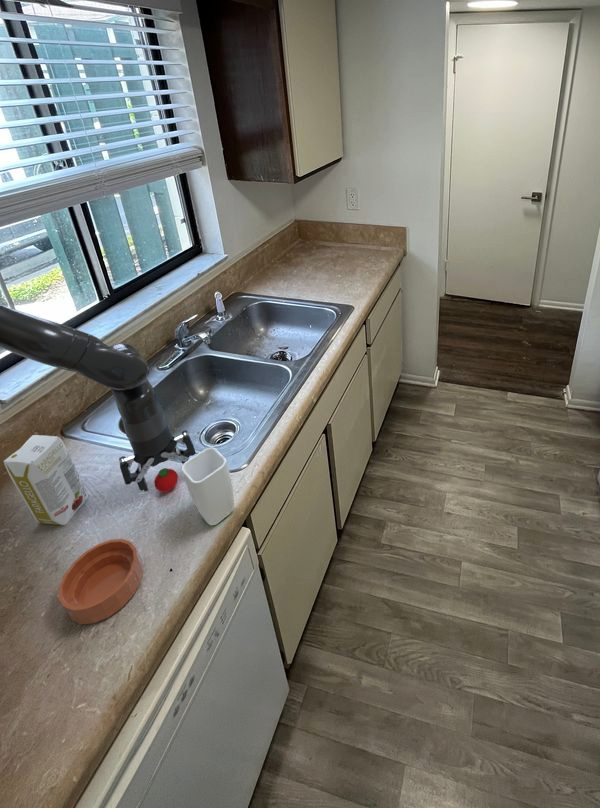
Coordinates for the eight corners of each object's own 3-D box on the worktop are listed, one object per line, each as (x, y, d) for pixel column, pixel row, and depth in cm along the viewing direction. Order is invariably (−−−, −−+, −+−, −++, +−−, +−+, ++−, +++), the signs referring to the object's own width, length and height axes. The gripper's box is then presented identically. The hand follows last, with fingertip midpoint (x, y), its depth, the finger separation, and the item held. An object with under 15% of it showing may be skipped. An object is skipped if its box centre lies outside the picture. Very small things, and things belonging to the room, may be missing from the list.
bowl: (67, 642, 74) (57, 626, 72) (68, 578, 84) (59, 562, 82) (147, 597, 81) (140, 581, 78) (140, 542, 90) (133, 526, 88)
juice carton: (94, 494, 100) (66, 433, 92) (64, 530, 92) (30, 467, 84) (64, 491, 101) (33, 430, 92) (32, 527, 93) (-5, 464, 85)
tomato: (158, 500, 98) (152, 484, 96) (155, 485, 102) (150, 469, 100) (181, 489, 101) (176, 474, 99) (178, 475, 104) (172, 459, 102)
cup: (194, 514, 95) (177, 466, 89) (224, 491, 100) (211, 444, 94) (210, 534, 91) (195, 486, 85) (242, 509, 96) (229, 462, 90)
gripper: (180, 403, 100) (196, 453, 107) (107, 431, 93) (129, 483, 100) (186, 423, 94) (202, 475, 101) (109, 455, 87) (133, 508, 94)
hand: (166, 479), depth 101 cm, fingers open, 8 cm apart
